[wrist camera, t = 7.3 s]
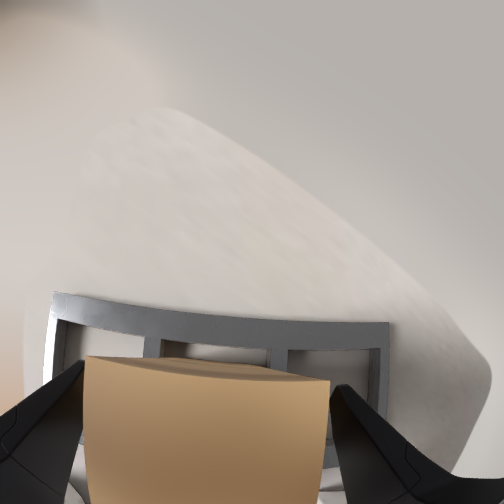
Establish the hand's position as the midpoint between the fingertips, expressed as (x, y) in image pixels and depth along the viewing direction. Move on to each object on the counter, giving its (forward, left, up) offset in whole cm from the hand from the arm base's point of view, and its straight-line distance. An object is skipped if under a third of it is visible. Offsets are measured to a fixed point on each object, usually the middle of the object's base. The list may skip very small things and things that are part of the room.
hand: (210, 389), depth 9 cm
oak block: (-1, 0, -8) cm, 8 cm away
